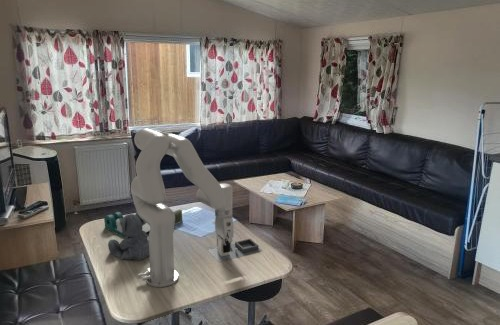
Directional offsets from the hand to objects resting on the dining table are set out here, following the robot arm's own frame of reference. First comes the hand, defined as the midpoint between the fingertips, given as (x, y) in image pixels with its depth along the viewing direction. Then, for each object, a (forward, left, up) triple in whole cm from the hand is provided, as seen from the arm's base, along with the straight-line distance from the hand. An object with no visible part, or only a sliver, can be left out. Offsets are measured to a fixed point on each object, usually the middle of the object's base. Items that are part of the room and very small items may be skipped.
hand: (223, 248), depth 175 cm
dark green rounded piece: (-35, +46, -4) cm, 58 cm away
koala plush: (-35, +20, -4) cm, 40 cm away
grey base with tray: (+6, 0, -3) cm, 7 cm away
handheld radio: (-15, +40, -4) cm, 43 cm away
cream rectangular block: (0, 0, -2) cm, 2 cm away
